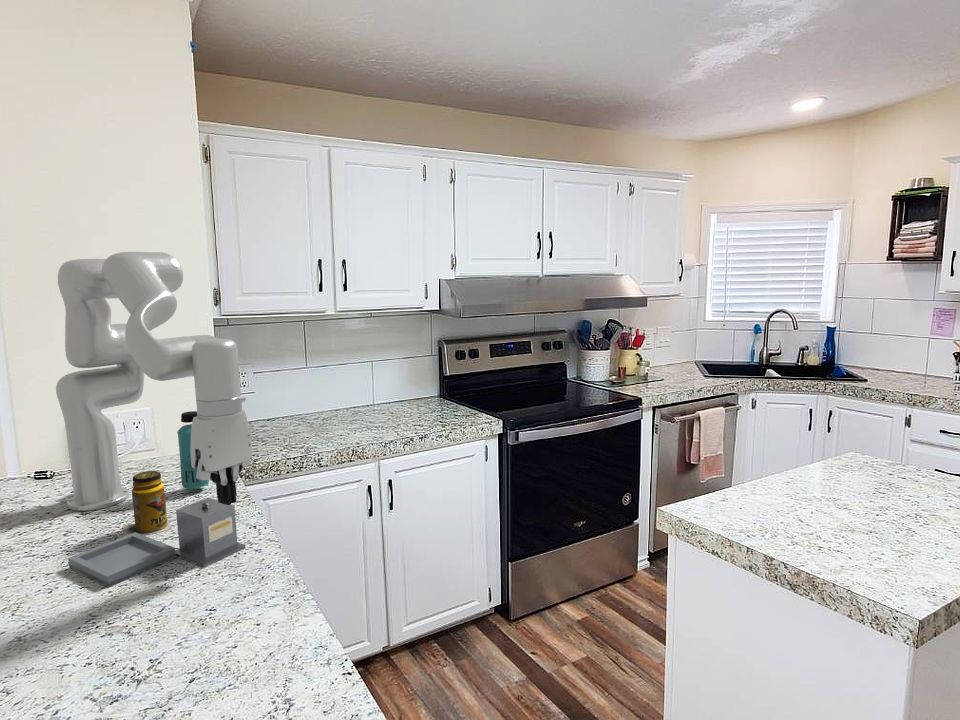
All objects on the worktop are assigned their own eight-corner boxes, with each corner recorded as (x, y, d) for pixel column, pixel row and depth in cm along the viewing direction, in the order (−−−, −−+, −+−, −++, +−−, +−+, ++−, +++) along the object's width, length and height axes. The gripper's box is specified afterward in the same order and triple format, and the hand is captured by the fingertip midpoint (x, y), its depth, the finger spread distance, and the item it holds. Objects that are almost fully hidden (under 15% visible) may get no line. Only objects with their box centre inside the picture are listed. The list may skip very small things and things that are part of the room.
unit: (172, 554, 115) (167, 506, 113) (213, 536, 123) (209, 491, 121) (204, 567, 110) (200, 517, 108) (245, 547, 117) (241, 500, 116)
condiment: (171, 529, 126) (166, 475, 124) (125, 540, 121) (119, 484, 120) (167, 517, 132) (162, 466, 130) (123, 527, 127) (117, 473, 126)
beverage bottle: (182, 496, 144) (174, 416, 141) (181, 488, 150) (174, 410, 147) (211, 491, 147) (205, 413, 144) (209, 483, 153) (203, 407, 150)
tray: (69, 568, 110) (68, 558, 110) (136, 541, 120) (135, 532, 120) (108, 587, 103) (107, 576, 103) (175, 557, 114) (174, 547, 113)
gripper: (240, 397, 116) (247, 486, 119) (168, 413, 104) (177, 512, 106) (266, 400, 112) (273, 493, 115) (194, 418, 100) (203, 521, 103)
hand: (227, 502), depth 111 cm, fingers closed
